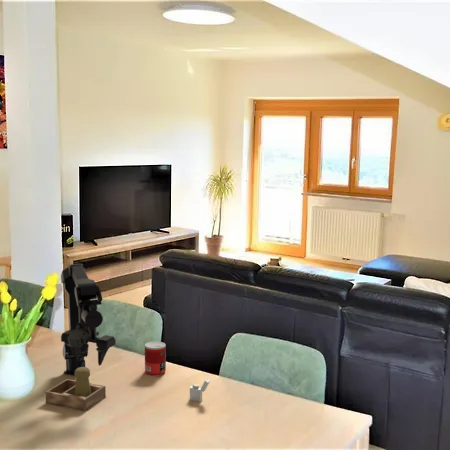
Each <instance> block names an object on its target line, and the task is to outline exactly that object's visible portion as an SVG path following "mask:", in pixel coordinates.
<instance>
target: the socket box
mask: <svg viewBox="0 0 450 450" xmlns="http://www.w3.org/2000/svg"><path fill="white" fill-rule="evenodd" d="M89 383H90V382H89ZM75 386H76V379H75V380H74V379H71V378H65V379H64V380H62V381H60V382H59V383H57V384H56V385H54V386H52V387H51V388H49V389H47V390H46V391H44V392H45V394H44V395H45V403H46V404H48V405H53V406H59V407H61V408H62V407H63V408H68V409H72V410H78V411H82V412H87V411H88V410H89V409H91V408H92V407H94V406H95V405H96V404H98V403H99V402H101V401H102V400H104V399H105V398H107V397H106V394H107V393H106V392H107V390H106V388H107V387H106V385H102V384H96V383H90V389H91V394H90V395H89V396H87V397H82V396H77V395H75Z"/></svg>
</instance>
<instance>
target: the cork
mask: <svg viewBox="0 0 450 450" xmlns="http://www.w3.org/2000/svg"><path fill="white" fill-rule="evenodd" d="M74 374H75V375H74V378H75V380H76V386H75V395H77V396H82V397H87V396H89V395H90V394H91V389H90V376H91V370H90V369H89V367H87V366H85V367H79V368H77V369H76V370H75V373H74Z"/></svg>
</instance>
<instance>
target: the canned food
mask: <svg viewBox="0 0 450 450" xmlns="http://www.w3.org/2000/svg"><path fill="white" fill-rule="evenodd" d="M166 347H167V346H166V343H165V342H162V341H156V340H155V341H148V342H146V343H145V344H144V372H145V374H146V375H149V376H155V377H157V376H161V375H164V374H165V373H166V370H167V367H166V365H167V362H166V361H167V359H166V357H167V351H166V349H167V348H166Z"/></svg>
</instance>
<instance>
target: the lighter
mask: <svg viewBox="0 0 450 450" xmlns="http://www.w3.org/2000/svg"><path fill="white" fill-rule="evenodd" d="M210 382H211V380H210V379H209V378H206V379H205V380H204V381H203V384H202V385H201V387H200V384H195V383H194V384H192V385H191V386H190V387H189V401H195V402H202V401H203V393H204V392H206V391H207V388H208V386H209V384H210Z"/></svg>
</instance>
